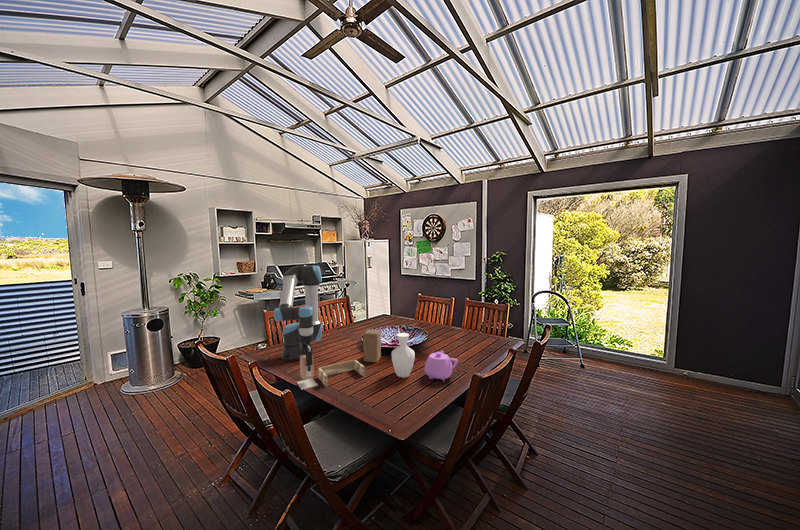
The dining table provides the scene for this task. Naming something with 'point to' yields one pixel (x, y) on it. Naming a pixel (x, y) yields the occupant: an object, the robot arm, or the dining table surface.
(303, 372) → the terracotta block
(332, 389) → the dining table surface
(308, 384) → the white tile
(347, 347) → the dining table surface
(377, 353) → the wooden block
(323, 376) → the frame
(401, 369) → the vase
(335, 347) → the dining table surface
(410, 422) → the dining table surface
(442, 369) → the teapot
